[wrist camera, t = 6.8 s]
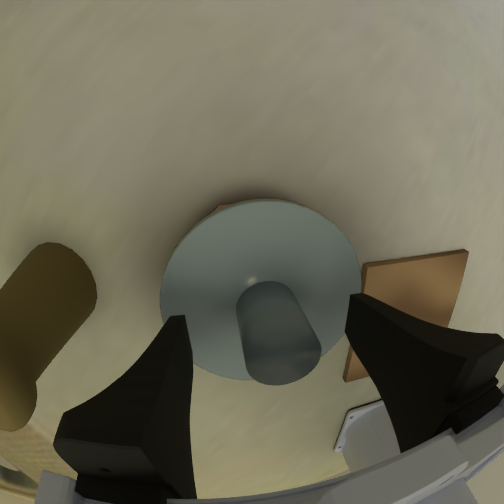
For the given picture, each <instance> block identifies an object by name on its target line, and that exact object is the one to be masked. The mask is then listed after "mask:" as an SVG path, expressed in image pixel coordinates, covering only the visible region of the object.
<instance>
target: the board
mask: <svg viewBox="0 0 504 504" xmlns="http://www.w3.org/2000/svg"><path fill="white" fill-rule="evenodd" d="M468 254H469V252H468V251H467V250H465V249H463V250H457V251H450V252H444V253H437V254H430V255H423V256H417V257H409V258H402V259H395V260H388V261H380V262H373V263H365V264H363V272H362V279H361V293H364V294H367V295H369V296H372V297H374V298H376V299H378V300H380V301H382V302H384V303H386V304H388V305H390V306H392V307H394V308H396V309H398V310H400V311H402V312H405V313H407V314H409V315H411V316H414V317H416V318H418V319H421V320H424V321H426V322H429V323H432V324H435V325H439V326H442V327H446V328H447V327H448V324H449V321H450V318H451V315H452V312H453V309H454V306H455V303H456V300H457V296H458V293H459V290H460V286H461V282H462V279H463V275H464V271H465V267H466V263H467V258H468ZM368 376H369V374H368V372H367V371H366V369H365V368H364V366H363V365H362V363H361V362H360V360H359V358H358V357H357V355H356V354H355V352H354V350H353V349H352V347H351V345H350V349H349V354H348V358H347V363H346V367H345V371H344V376H343V379H344V381H345V383H346V382H350V381H353V380H357V379H361V378H364V377H368Z"/></svg>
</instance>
